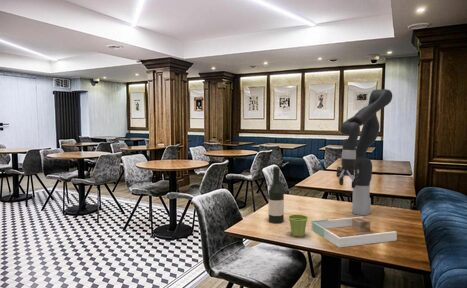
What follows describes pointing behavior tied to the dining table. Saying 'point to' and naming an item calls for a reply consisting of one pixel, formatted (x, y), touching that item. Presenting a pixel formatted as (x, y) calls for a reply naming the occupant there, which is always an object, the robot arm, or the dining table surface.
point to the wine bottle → (276, 200)
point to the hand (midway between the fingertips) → (347, 186)
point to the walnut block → (361, 224)
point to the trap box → (346, 241)
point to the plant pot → (298, 224)
